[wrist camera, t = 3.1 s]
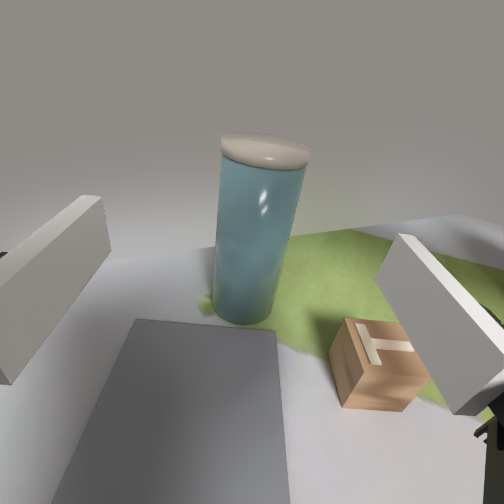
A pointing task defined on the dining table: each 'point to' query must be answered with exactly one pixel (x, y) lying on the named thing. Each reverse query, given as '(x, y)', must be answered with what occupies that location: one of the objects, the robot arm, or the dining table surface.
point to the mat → (185, 422)
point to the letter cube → (376, 366)
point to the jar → (254, 221)
